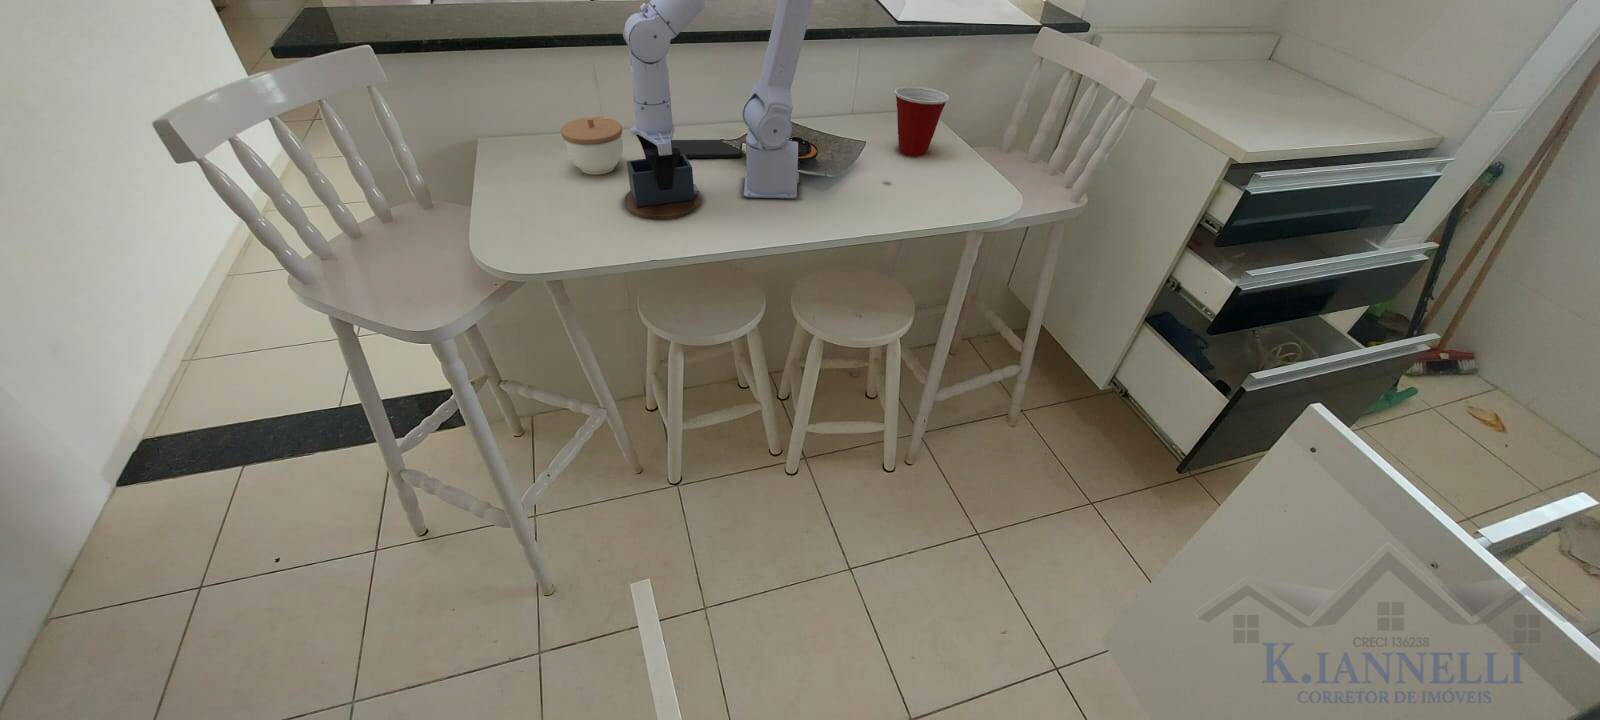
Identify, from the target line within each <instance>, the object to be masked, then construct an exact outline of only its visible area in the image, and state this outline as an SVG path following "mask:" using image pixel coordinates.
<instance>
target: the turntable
mask: <svg viewBox="0 0 1600 720" xmlns="http://www.w3.org/2000/svg"><path fill="white" fill-rule="evenodd" d="M624 204H625V208H626V210H627V211H628V212H630V213H631V214H633V215H635V216H637V217H639V218H643V219H647V220H648V219H649V220H672V219H677V218H682V217H684V216H687V215H689V214H691V213H693V212H694V211H696V210H697V209H698V208H699V206H700V205H701V194H700V193H699V194H694V199H693V200H686V201H679V202H671V203H664V204H657V205H650V206H643V207H636V204H635V202H634V199H633V197H632V194H631V190H630V191H628V192H627V193H626V195H625V197H624Z"/></svg>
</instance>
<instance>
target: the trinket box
mask: <svg viewBox="0 0 1600 720" xmlns="http://www.w3.org/2000/svg"><path fill="white" fill-rule="evenodd" d="M560 132H561V136H562V139H563V143H564V147H565V151H566V153H567V156H568V157H569V159H570V160H571V162H572V163H573V164H574V165H575V166H576V167H577V168H579V169H580V170H581V171H582V172H583V173H585V174H586V175H587V174H588V175H592V176H598V175H599V176H600V175H605V174H609V173H611V172H613V171H614V170H615V169H616V166H617V165H618V164H619V162H620V161H621V159H622V156H623V151H624V137H623V126H622V124H621V123H620V122H619V121H617V120H615V119H613V118H607V117H601V116H591V117H582V118H577V119H573V120H571V121H568V122H566V123H565V124H563V126H562V127H561V129H560Z"/></svg>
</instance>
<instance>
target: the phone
mask: <svg viewBox="0 0 1600 720" xmlns="http://www.w3.org/2000/svg"><path fill="white" fill-rule="evenodd" d="M723 140H724V139H672V140H671V148H679V149H680V151H681V154H685V156H686V158H687V159H690V158H691V159H693V158H694V159H696V158H697V159H698V158H700V159H701V158H702V159H703V158H704V159H705V158H707V159H709V158H740V157H742V149H741V150H740V149H738V148H736V147H733V146H732V145H729V144H727V143H724V142H722V141H723ZM726 140H727V141H733V140H734V139H726Z"/></svg>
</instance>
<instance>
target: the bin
mask: <svg viewBox="0 0 1600 720" xmlns="http://www.w3.org/2000/svg"><path fill="white" fill-rule="evenodd" d="M688 159H689V158H686V156H685V154H681V155H680V158H679V159H678V162H677V164H676V167H675V172H674V179H673V185H672V189H669V190H662V191H660V190H659V188H658V185H657V182H656V179H655V175H654V171H653V168H652V165H651V163H650V161H649V160H648V158H647V159H646V158H639V159H631V160H626V168H627V174H628V181H629V188H630V191H631V194H632V197H633V199H634V202H635V204H636V207H643V206H650V205H657V204H664V203H671V202H679V201H686V200H693V199H694V194H700V190H699V188H698V186H697V185H696V183H694V174H693V166H692V164H691V162H690V161H689V160H688Z"/></svg>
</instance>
